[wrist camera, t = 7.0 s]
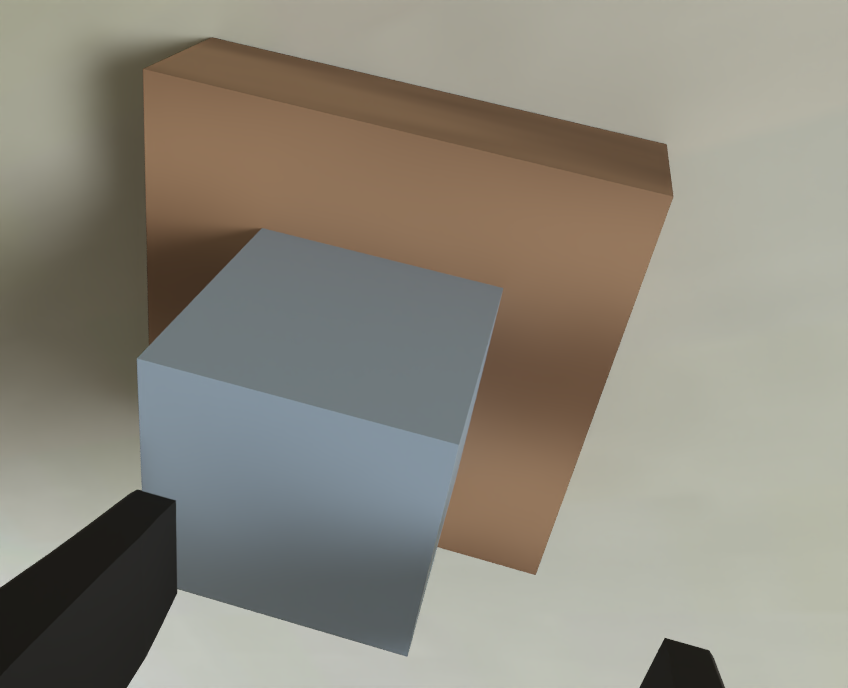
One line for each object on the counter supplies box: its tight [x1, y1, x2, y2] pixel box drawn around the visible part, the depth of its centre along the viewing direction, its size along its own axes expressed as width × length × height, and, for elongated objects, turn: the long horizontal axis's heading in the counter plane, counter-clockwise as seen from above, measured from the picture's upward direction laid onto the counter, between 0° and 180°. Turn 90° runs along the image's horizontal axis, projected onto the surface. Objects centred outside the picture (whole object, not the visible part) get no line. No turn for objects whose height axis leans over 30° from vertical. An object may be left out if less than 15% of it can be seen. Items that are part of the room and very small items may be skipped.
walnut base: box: [143, 38, 673, 575], centre depth 19 cm, size 10×10×3 cm
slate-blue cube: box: [137, 228, 503, 656], centre depth 15 cm, size 5×5×5 cm
